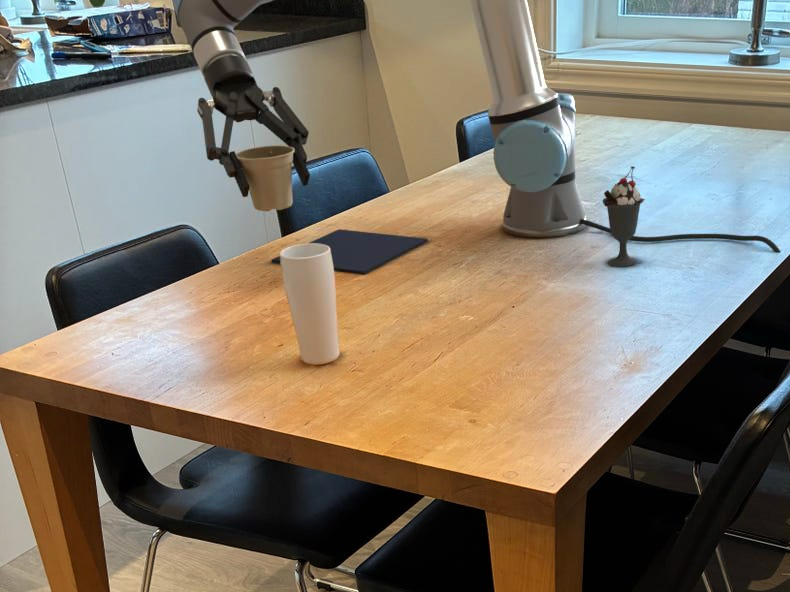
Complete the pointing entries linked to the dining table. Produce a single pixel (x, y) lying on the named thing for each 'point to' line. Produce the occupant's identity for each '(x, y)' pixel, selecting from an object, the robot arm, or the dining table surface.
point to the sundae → (623, 217)
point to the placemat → (364, 249)
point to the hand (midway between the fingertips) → (276, 185)
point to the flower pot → (268, 176)
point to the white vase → (312, 300)
